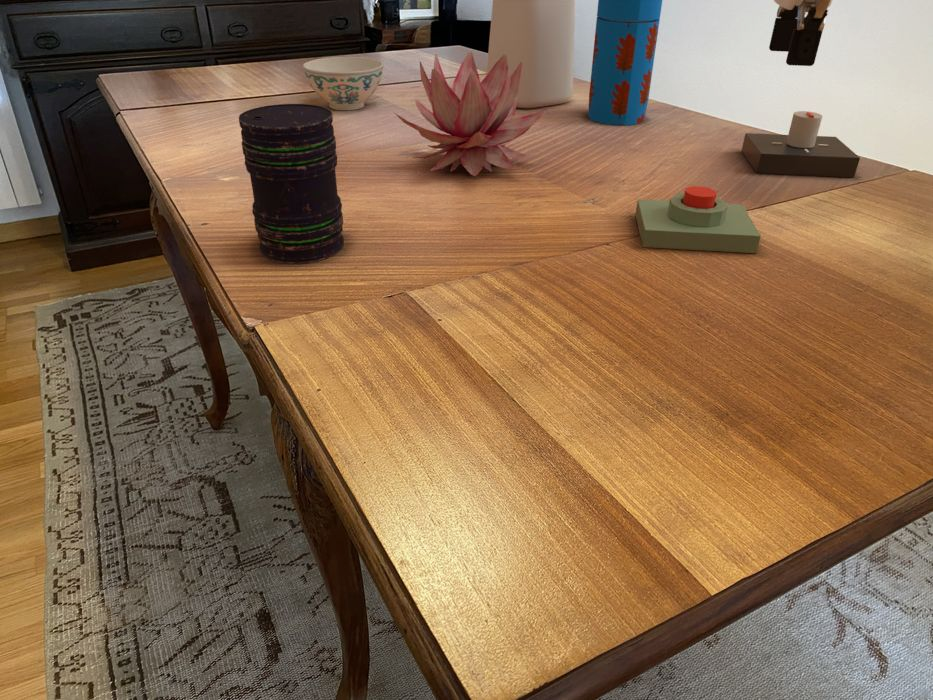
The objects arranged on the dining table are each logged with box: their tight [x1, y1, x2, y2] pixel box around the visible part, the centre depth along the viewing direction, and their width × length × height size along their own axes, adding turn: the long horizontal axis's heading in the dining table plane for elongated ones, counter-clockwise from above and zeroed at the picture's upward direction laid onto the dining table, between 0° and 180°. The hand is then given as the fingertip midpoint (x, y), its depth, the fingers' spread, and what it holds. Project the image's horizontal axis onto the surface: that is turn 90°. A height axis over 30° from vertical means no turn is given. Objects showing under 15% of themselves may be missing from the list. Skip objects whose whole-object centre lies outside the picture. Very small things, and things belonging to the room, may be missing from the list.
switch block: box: [635, 192, 762, 254], centre depth 85 cm, size 13×10×4 cm
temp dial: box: [786, 110, 823, 148], centre depth 107 cm, size 4×4×5 cm
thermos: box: [587, 0, 663, 126], centre depth 125 cm, size 11×11×25 cm
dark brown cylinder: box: [238, 103, 345, 265], centre depth 78 cm, size 10×10×15 cm
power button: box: [683, 185, 717, 209], centre depth 84 cm, size 4×4×2 cm
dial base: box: [741, 132, 861, 178], centre depth 109 cm, size 14×11×3 cm
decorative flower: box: [394, 51, 547, 177], centre depth 103 cm, size 21×21×15 cm
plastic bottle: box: [485, 0, 576, 109], centre depth 136 cm, size 15×15×28 cm
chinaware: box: [302, 56, 384, 111], centre depth 136 cm, size 15×15×8 cm
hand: (789, 57), depth 91 cm, fingers open, 9 cm apart
